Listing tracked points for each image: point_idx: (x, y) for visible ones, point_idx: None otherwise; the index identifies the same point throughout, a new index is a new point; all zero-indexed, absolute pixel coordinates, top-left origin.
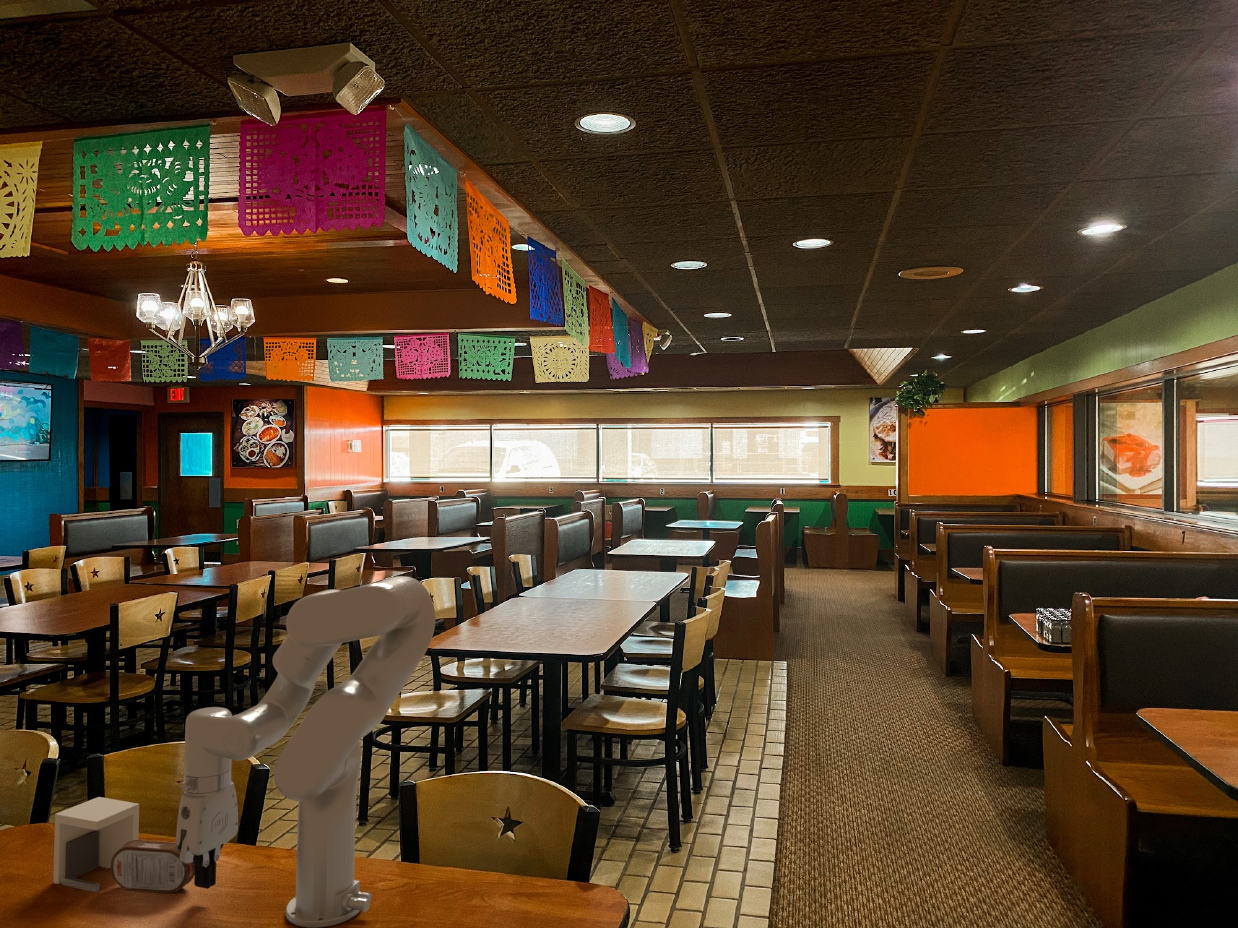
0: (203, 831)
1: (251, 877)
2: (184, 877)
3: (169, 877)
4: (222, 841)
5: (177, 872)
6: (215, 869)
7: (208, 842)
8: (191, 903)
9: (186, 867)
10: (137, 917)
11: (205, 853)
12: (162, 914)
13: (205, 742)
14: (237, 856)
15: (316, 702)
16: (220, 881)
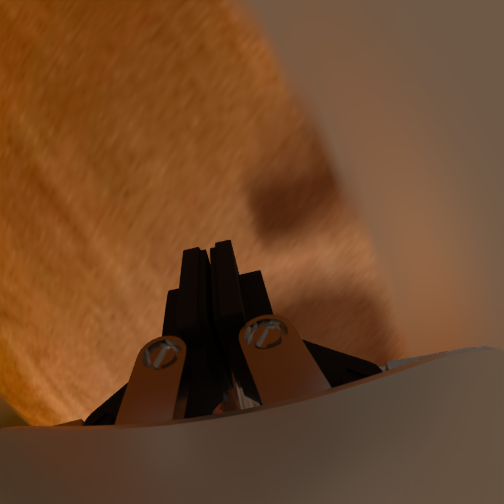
0: None
1: (20, 266)
2: (234, 378)
3: (257, 404)
4: (130, 447)
5: (249, 406)
6: (183, 293)
7: (424, 468)
8: (256, 264)
9: (236, 406)
10: (388, 306)
11: (299, 395)
12: (353, 270)
13: None
14: (27, 387)
15: None
16: (104, 321)
